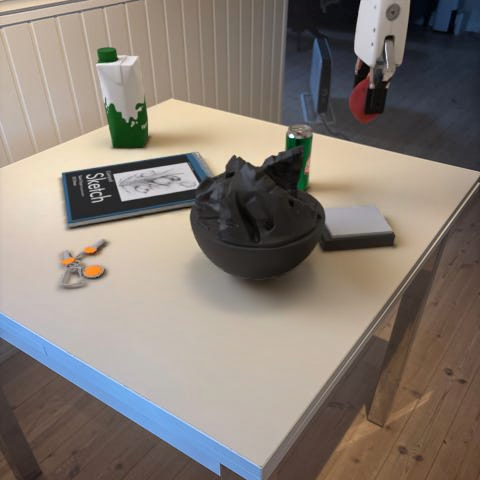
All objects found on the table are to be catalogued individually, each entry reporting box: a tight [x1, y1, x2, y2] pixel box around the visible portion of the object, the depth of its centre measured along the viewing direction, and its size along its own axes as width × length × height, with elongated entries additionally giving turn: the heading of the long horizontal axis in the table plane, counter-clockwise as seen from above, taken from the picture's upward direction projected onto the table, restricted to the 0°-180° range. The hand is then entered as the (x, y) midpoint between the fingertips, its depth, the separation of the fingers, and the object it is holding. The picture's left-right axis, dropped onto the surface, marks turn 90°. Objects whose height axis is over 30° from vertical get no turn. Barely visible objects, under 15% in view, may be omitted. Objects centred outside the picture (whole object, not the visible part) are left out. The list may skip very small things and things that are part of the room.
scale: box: [318, 204, 397, 252], centre depth 85 cm, size 12×10×3 cm
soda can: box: [284, 123, 314, 191], centre depth 95 cm, size 5×5×12 cm
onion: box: [348, 72, 381, 125], centre depth 80 cm, size 6×6×8 cm
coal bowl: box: [189, 145, 326, 281], centre depth 72 cm, size 20×20×19 cm
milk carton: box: [95, 46, 149, 149], centre depth 111 cm, size 9×9×20 cm
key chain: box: [59, 238, 106, 287], centre depth 79 cm, size 13×7×1 cm, turn 7°
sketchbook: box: [61, 151, 216, 229], centre depth 98 cm, size 22×30×2 cm
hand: (367, 105), depth 80 cm, fingers closed on onion, 5 cm apart
